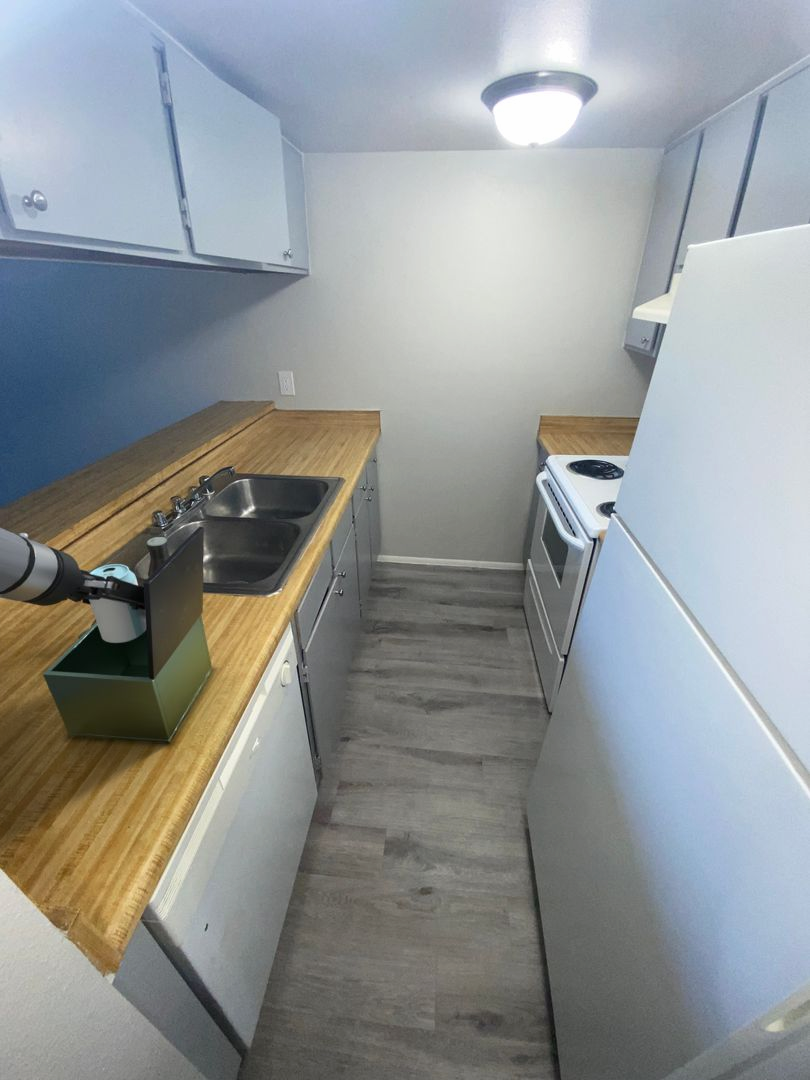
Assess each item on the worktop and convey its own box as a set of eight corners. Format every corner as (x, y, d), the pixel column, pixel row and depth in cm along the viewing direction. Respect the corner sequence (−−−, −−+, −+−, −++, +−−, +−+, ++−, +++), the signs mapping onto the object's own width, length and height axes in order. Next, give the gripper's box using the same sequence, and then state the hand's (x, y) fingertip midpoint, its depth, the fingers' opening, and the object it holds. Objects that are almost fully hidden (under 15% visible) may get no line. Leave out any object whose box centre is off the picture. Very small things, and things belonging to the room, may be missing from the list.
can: (92, 637, 79) (71, 577, 73) (130, 615, 85) (113, 557, 79) (121, 651, 76) (102, 589, 71) (158, 627, 82) (143, 568, 76)
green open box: (69, 736, 81) (42, 674, 74) (128, 664, 96) (110, 607, 90) (170, 743, 80) (152, 681, 73) (212, 670, 96) (201, 613, 89)
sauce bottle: (154, 612, 112) (135, 538, 102) (181, 602, 115) (165, 530, 106) (163, 626, 107) (144, 550, 98) (191, 615, 111) (175, 541, 102)
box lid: (143, 582, 65) (148, 583, 65) (199, 526, 80) (204, 527, 80) (148, 679, 73) (154, 680, 73) (198, 611, 89) (202, 612, 89)
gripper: (115, 548, 61) (193, 585, 83) (-35, 539, 61) (82, 578, 83) (100, 606, 59) (184, 628, 81) (-55, 596, 59) (71, 620, 81)
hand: (132, 602), depth 82 cm, fingers closed on can, 7 cm apart
